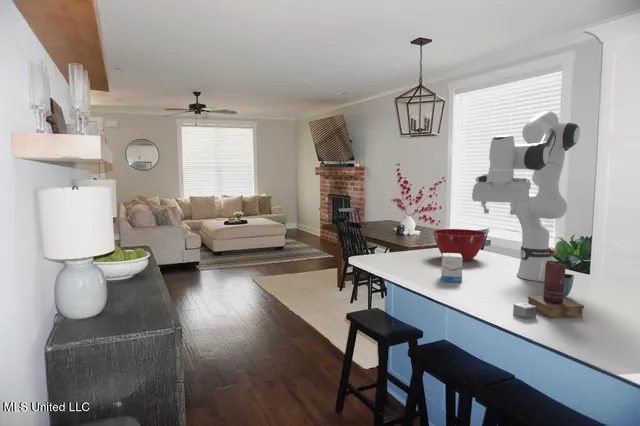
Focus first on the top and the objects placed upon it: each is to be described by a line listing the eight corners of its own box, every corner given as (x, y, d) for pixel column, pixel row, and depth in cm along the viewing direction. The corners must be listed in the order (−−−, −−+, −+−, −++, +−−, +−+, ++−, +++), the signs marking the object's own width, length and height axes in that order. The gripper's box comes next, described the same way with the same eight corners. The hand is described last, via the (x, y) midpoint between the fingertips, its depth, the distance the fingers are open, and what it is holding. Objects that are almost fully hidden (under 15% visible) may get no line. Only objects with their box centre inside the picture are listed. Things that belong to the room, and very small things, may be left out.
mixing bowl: (422, 255, 247) (423, 229, 246) (464, 252, 256) (464, 227, 254) (451, 265, 220) (452, 236, 219) (496, 262, 229) (497, 234, 227)
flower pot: (548, 292, 172) (549, 271, 171) (573, 296, 166) (574, 274, 165) (543, 297, 165) (544, 275, 164) (569, 302, 159) (570, 279, 159)
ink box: (462, 282, 187) (463, 256, 186) (442, 281, 189) (443, 256, 188) (459, 277, 195) (460, 253, 194) (440, 276, 197) (441, 252, 196)
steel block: (523, 313, 147) (524, 302, 147) (535, 317, 143) (536, 306, 142) (513, 315, 145) (513, 304, 145) (525, 319, 141) (525, 308, 140)
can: (554, 297, 151) (557, 259, 150) (566, 303, 145) (569, 264, 143) (538, 298, 150) (541, 260, 149) (550, 304, 144) (553, 264, 142)
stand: (558, 305, 155) (559, 295, 155) (583, 317, 143) (584, 305, 142) (526, 306, 154) (527, 296, 154) (548, 318, 142) (549, 307, 141)
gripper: (532, 178, 157) (530, 214, 158) (475, 177, 168) (474, 211, 170) (529, 178, 152) (527, 216, 153) (471, 177, 163) (470, 213, 165)
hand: (499, 213), depth 162 cm, fingers open, 8 cm apart
